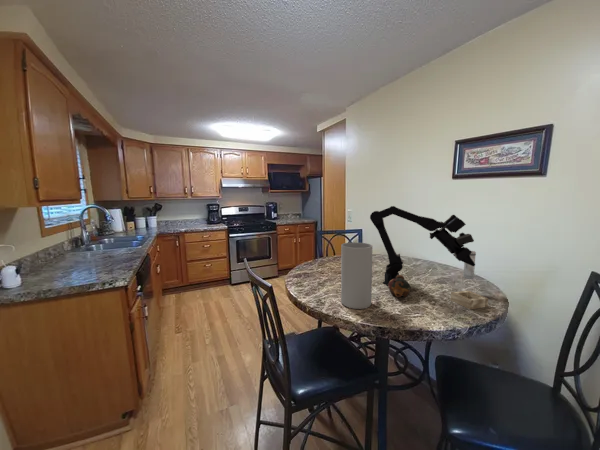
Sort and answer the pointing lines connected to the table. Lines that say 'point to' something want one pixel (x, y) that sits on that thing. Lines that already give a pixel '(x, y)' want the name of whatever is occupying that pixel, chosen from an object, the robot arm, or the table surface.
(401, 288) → the decorative turtle
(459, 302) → the socket block
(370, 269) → the cylinder vase
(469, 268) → the silver metal cylinder
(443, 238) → the robot arm
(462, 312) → the table surface
